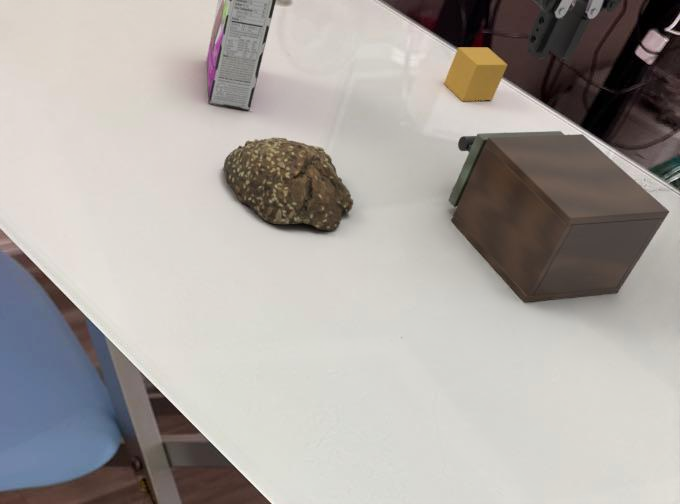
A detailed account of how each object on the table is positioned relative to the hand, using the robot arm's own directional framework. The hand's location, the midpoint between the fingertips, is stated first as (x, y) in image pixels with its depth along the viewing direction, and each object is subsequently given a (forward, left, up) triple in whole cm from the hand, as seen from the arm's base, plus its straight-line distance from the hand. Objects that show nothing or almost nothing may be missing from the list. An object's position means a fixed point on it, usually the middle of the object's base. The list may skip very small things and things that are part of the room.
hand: (547, 54), depth 91 cm
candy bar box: (+9, -30, -15) cm, 35 cm away
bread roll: (+19, -10, -15) cm, 26 cm away
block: (-20, -17, -15) cm, 30 cm away
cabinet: (+3, +9, -15) cm, 18 cm away
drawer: (+2, +5, -14) cm, 15 cm away
